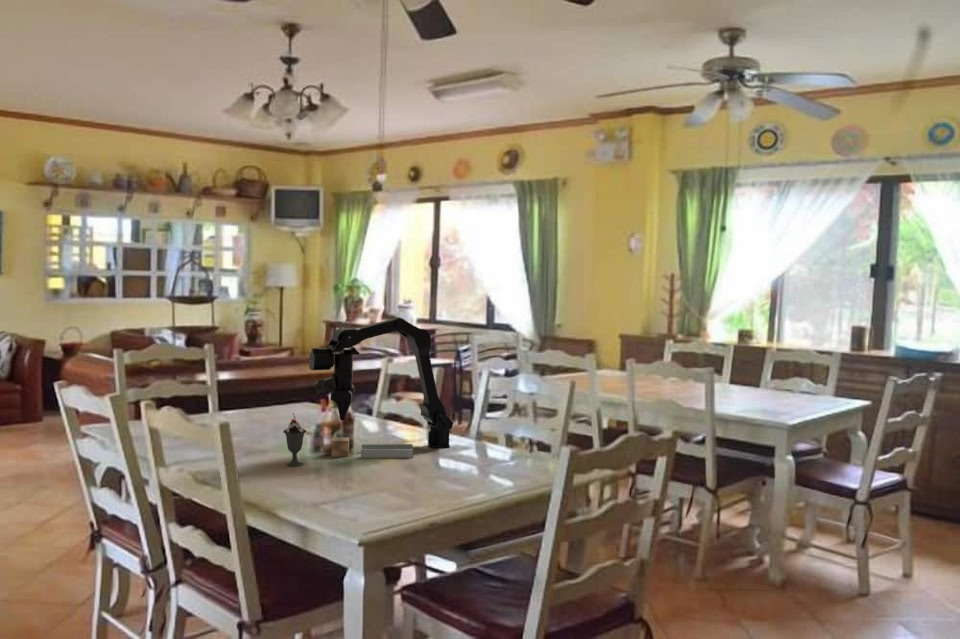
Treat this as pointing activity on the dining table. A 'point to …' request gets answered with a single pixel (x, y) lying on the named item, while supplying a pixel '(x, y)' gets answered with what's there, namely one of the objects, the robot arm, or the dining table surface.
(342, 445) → the block
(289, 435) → the sundae
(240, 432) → the dining table surface
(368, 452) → the channel
